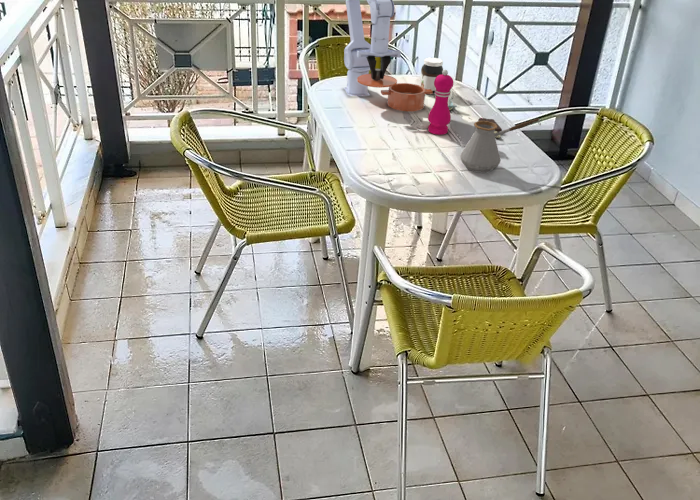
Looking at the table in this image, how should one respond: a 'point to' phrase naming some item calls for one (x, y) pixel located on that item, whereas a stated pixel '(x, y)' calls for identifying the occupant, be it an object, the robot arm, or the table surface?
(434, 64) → the spread jar
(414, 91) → the pot
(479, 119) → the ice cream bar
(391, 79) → the lid
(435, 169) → the table surface
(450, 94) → the pacifier
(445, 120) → the pepper mill
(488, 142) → the coffee pot
